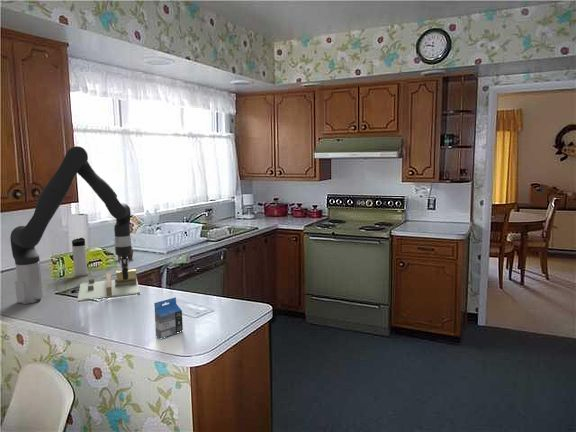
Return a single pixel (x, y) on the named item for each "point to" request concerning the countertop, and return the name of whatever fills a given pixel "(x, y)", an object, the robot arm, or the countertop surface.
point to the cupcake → (128, 255)
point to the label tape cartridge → (167, 318)
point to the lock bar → (130, 276)
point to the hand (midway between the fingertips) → (125, 277)
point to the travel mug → (79, 257)
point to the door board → (103, 290)
